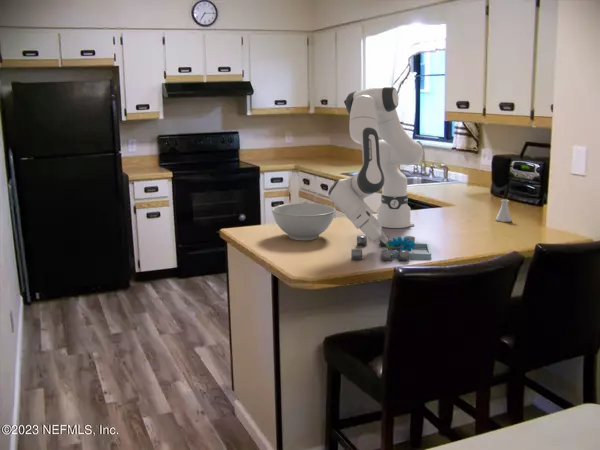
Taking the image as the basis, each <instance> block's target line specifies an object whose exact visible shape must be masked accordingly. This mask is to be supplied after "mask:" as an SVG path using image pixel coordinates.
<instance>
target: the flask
mask: <svg viewBox="0 0 600 450" xmlns="http://www.w3.org/2000/svg"><path fill="white" fill-rule="evenodd" d="M509 201H510V200H508V199H500V202H501V206H500V209H499V211H498V213H497V216H496V218H495V219H494V220H495V221H497V222H501V223H509V222H512V221H513V220H512V215H511V213H510V209H509Z"/></svg>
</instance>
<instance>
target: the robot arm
mask: <svg viewBox="0 0 600 450" xmlns="http://www.w3.org/2000/svg"><path fill="white" fill-rule="evenodd" d="M399 100H400V99H399V93H398V92H397V89H396V88H395V87H394V86H393V85H384V86H374V87H372V86H371V87H369V88H365V89H361V90H358V91H356V90H355V91H353V92H352V91H351V92H350V93H349V94H348V95H347V96H346V99H345V108H346V112H347V113H348V114H349V125H348V126H349V136H350V139H351V140H353V142H355V143H357V144H359V145H361V146H362V147H361V149H362V166H361V167H360V170H359V172H357V173H356V174H354V175H352V176H349V177H347V178H341V179H340V178H339V179H336V180H335V181H334V183H333V184H332V185H331V186H330V188H329V189H328V193H327V194H328V198H329V199H330V201H331V202H332V203H333V204H334V205H335V207H336V208H337V209H338V210H339V211H340V212H343V213H344V214H345V216H346V218H347V219H348V220H349V221H350V222H351V223H352V224H353V226H354V227H355V228H356V229H357V230H358V229H359V230H360V231H361V232H362V233H363V235H364V236H367V238H369V239H370V241H373V242H376V241H377V240H378V239H380V240H381V241H382V242H383V243H384V244H386V243H387V242H388V238H387V237H386V236H387V235H385V233H384V231H382V228H390V229H402V228H409V227H414V226H415V223H414V222H413V221H412V220H411V212H412V211H411V207H410V206H409V205H408V200H409V196H408V178H407V176H406V175H405V174H404V173H402V171H401V170H400V168H399V166H406V167H407V166H409V167H410V166H415V165H418V164H420V162H421V161H422V160H423V157H424V149H423V147H422V145H421V144H420V143H419V142H417V141H415V140H414V139H413V138H412V137H410V136H409V134H408V133H407V131H406V130H405V129H404V127H403V126H402V123H401V121H400V118H399V115H398V112H397V107H398V105H399ZM381 189H382V192H381V196H380V202H381V204H379V205H378V207H377V210H376V213H377V214H376V217H375V216H374V215H373V212H374V211H373V209H372V208H371V206H369V205H368V204H367V203H366V202H365V200H364V199H366V198H368V197H369V196H371V195H373V194H375V193H377V192H379V191H380V190H381Z"/></svg>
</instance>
